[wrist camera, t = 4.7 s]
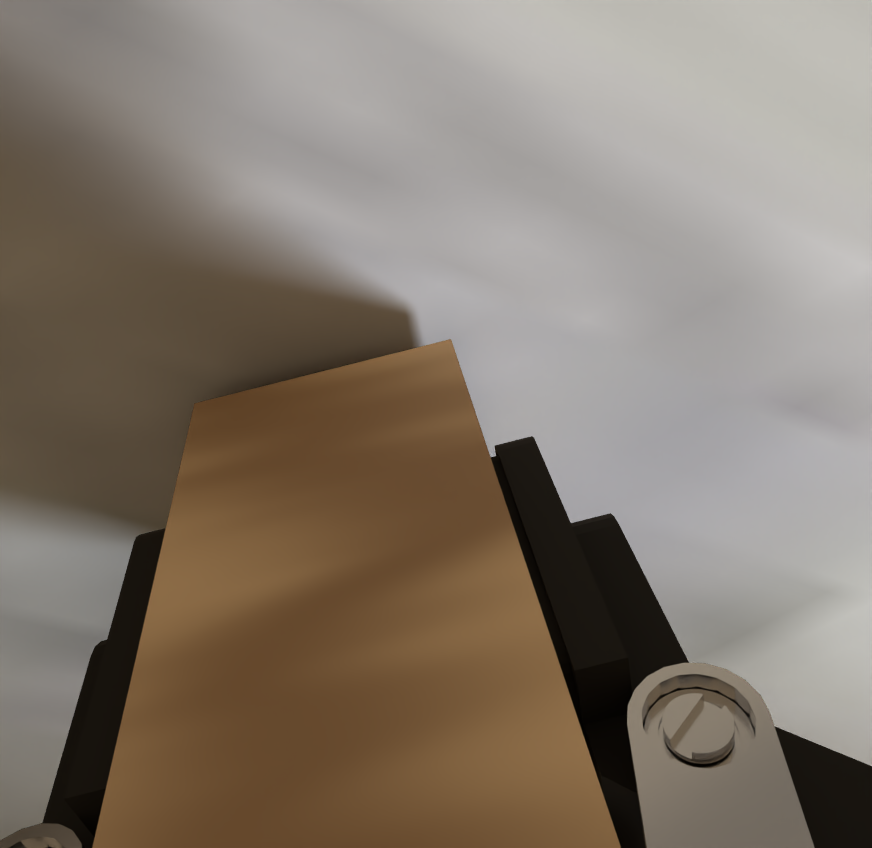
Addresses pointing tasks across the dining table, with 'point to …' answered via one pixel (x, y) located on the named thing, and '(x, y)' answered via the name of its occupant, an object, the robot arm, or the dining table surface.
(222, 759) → the tan block with rod
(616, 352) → the dining table surface
